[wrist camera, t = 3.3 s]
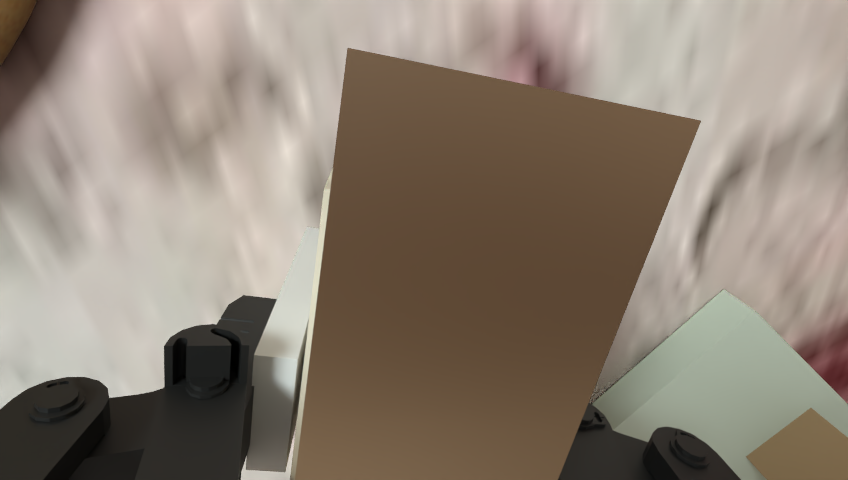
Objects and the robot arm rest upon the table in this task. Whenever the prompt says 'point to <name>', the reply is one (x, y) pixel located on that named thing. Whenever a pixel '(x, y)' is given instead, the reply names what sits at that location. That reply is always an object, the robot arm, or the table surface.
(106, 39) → the table surface
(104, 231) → the table surface
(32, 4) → the wooden plate with food
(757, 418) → the wall board
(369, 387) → the wooden frame
